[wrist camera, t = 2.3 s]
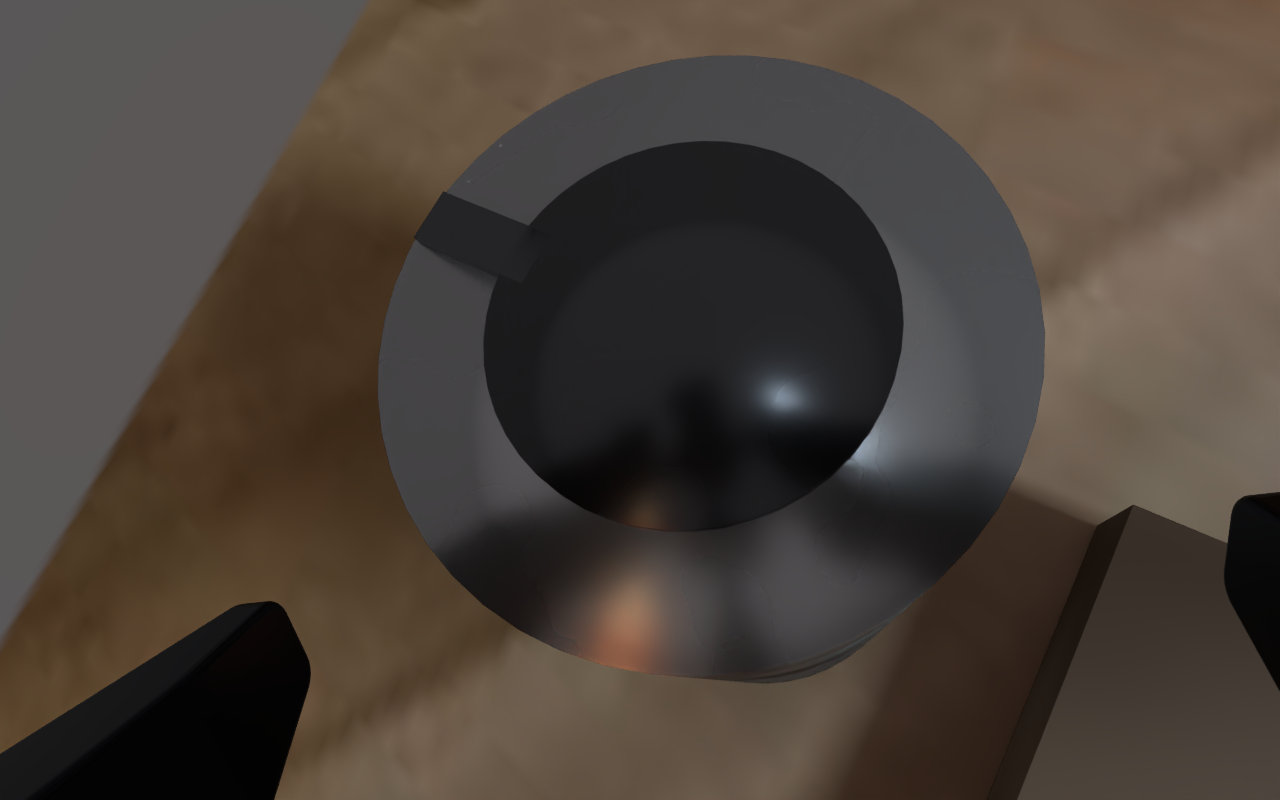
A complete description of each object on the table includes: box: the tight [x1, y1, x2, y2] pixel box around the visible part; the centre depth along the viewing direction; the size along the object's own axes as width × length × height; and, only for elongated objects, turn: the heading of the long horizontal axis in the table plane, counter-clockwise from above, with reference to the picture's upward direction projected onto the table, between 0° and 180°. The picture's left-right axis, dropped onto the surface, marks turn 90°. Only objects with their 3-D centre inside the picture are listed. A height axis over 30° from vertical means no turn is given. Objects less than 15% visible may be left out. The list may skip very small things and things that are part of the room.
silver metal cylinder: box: [378, 56, 1045, 683], centre depth 13 cm, size 6×6×11 cm
